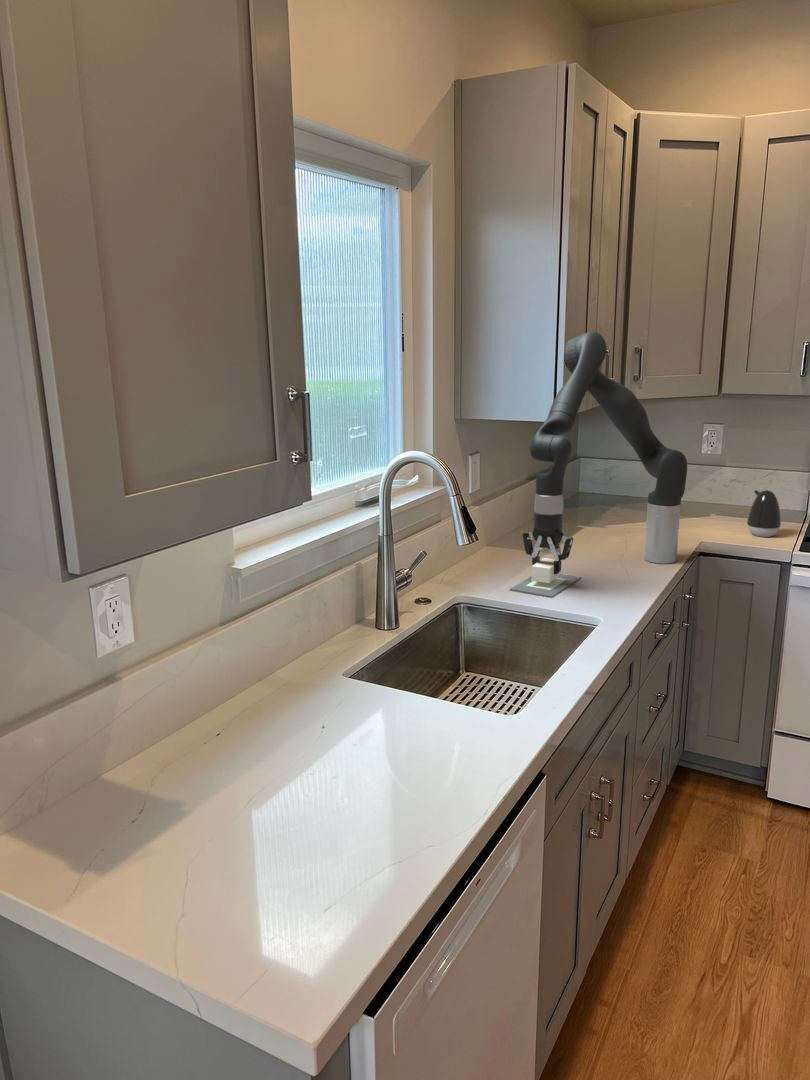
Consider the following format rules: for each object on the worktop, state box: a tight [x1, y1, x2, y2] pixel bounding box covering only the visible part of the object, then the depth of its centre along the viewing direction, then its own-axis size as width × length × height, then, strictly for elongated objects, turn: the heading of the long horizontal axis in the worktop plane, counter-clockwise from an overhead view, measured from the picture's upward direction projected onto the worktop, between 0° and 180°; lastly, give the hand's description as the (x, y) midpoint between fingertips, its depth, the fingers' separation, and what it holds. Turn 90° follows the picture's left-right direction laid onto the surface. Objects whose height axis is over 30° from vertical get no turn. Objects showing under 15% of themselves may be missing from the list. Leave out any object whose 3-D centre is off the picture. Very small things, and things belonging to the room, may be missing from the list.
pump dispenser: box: [746, 489, 782, 538], centre depth 263 cm, size 10×10×15 cm
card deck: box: [530, 557, 562, 583], centre depth 214 cm, size 5×9×4 cm, turn 150°
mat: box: [509, 573, 582, 598], centre depth 215 cm, size 20×12×1 cm, turn 147°
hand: (546, 571), depth 214 cm, fingers closed on card deck, 5 cm apart
